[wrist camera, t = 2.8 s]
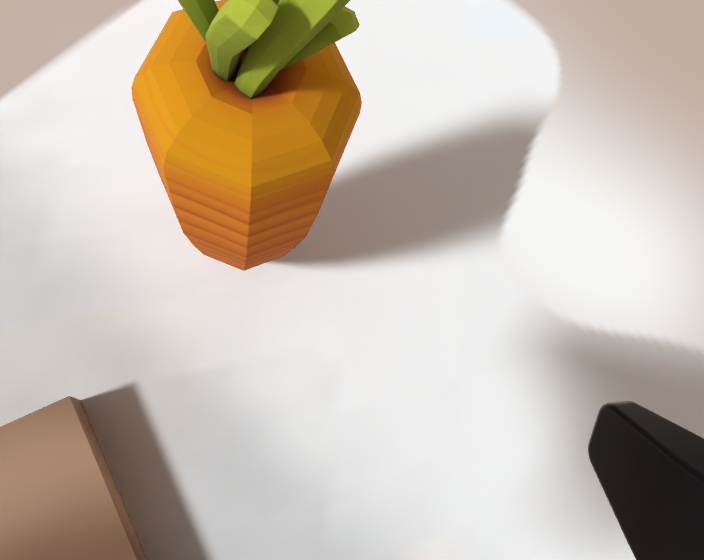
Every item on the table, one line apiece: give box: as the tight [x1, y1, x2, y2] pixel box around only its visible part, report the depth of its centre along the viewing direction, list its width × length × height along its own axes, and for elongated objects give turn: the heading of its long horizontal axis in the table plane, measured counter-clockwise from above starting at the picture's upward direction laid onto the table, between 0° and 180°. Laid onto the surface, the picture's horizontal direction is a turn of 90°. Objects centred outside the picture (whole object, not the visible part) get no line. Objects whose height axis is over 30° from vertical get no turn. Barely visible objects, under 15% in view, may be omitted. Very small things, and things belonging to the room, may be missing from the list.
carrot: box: [132, 0, 361, 270], centre depth 16 cm, size 5×5×15 cm
